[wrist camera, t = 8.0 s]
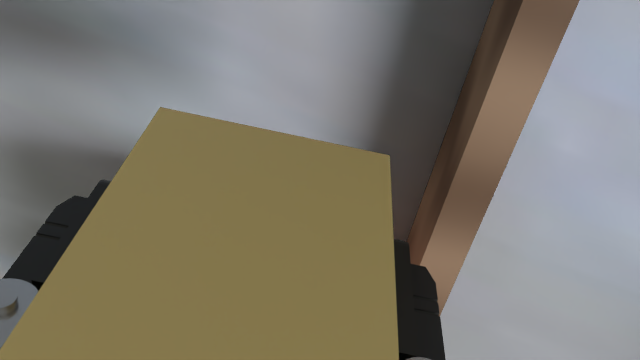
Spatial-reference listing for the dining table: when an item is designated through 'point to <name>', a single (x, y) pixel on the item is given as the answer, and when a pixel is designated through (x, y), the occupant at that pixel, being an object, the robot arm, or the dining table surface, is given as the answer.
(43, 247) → the robot arm
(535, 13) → the shelf rail
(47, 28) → the dining table surface
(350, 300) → the tan rectangular block
